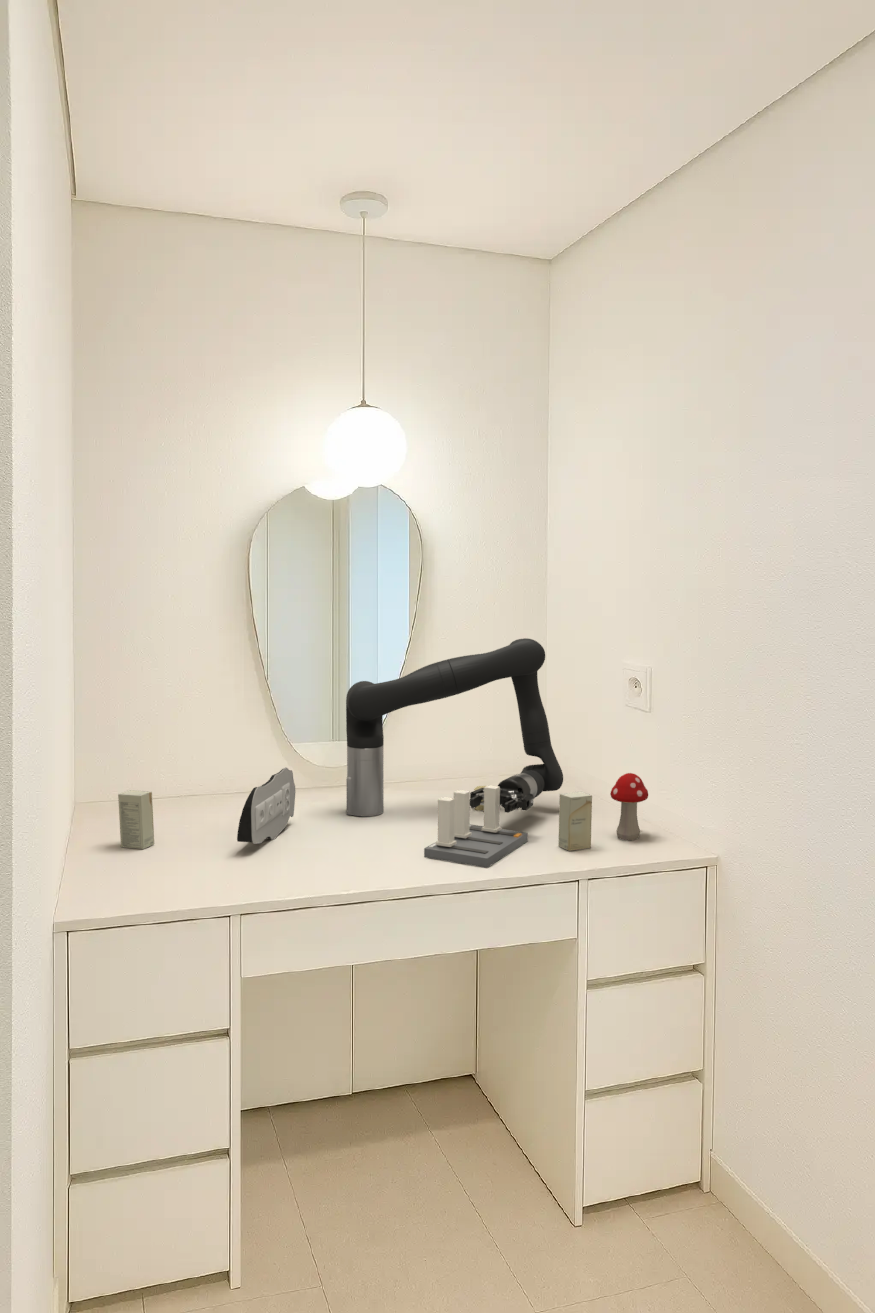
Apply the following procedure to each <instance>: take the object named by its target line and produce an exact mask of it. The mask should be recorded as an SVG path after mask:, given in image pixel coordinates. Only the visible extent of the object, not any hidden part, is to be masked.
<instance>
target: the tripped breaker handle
mask: <svg viewBox="0 0 875 1313" xmlns="http://www.w3.org/2000/svg"><path fill="white" fill-rule="evenodd" d="M485 786H486V787H484V811H483V826H484V827H482V831H489V832H498V831H500V830H501V829H502V826H500V816H501V815H500V808H501V806H500V787H499V786H498V785H497V786H496V785H490V784H489V785H485Z"/></svg>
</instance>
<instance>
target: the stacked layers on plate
mask: <svg viewBox="0 0 875 1313" xmlns="http://www.w3.org/2000/svg"><path fill="white" fill-rule="evenodd" d="M486 786H487V785H478V786H476V787H474V788H473V791H475V790H478V789H480V788H484V787H486ZM481 801H484V800H481ZM474 810H475V811H479V812H480V811H481V812H482V811H483V812H484V804H483V805H479V806H477V807H475V808H474Z"/></svg>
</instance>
